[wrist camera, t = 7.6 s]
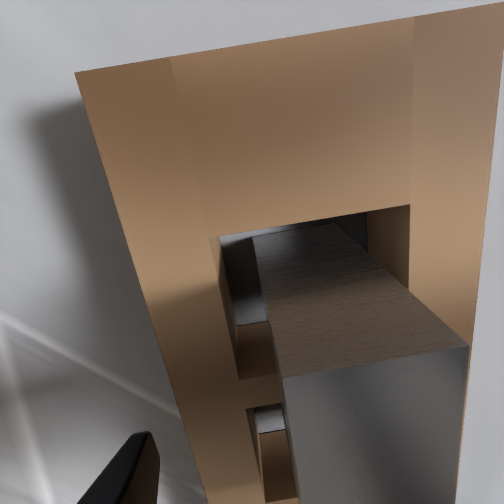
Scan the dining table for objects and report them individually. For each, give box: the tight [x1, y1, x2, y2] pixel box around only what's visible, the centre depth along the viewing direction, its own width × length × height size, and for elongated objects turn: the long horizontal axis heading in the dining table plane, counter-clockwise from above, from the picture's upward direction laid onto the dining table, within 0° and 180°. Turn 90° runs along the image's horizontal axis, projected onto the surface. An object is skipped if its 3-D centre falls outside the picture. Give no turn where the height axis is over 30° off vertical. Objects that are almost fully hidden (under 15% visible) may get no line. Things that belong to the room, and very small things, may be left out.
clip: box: [252, 223, 470, 504], centre depth 8 cm, size 7×2×6 cm, turn 9°
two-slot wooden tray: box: [74, 2, 504, 504], centre depth 10 cm, size 16×8×2 cm, turn 9°
